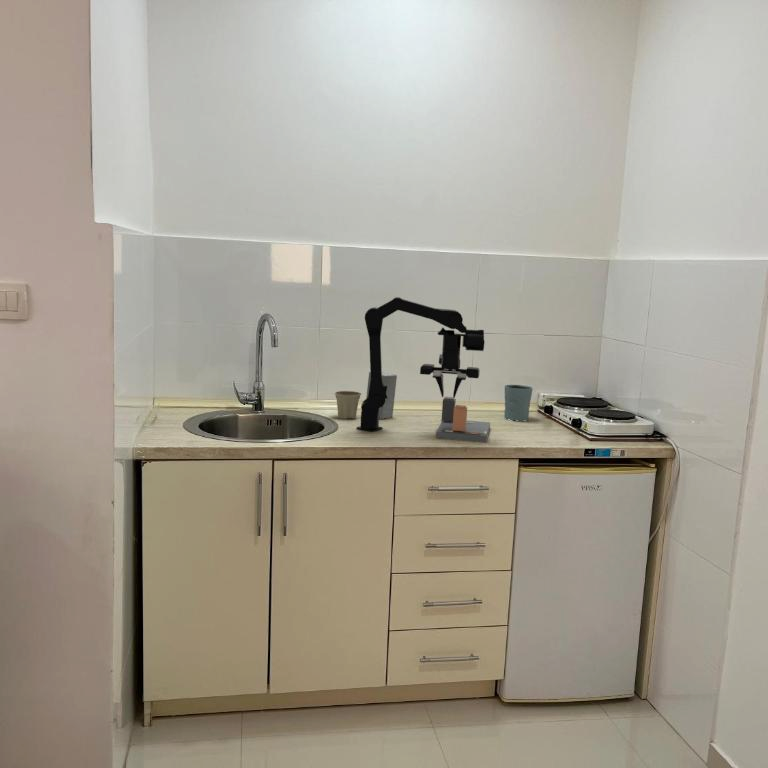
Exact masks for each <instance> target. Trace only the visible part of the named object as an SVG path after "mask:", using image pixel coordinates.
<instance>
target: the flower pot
mask: <svg viewBox="0 0 768 768" xmlns="http://www.w3.org/2000/svg"><path fill="white" fill-rule="evenodd" d="M334 395H335V398H336V405H337V406H336V407H337V417H338V418H340V419H343V418H344V419H345V420H347V419H351V418H353V419H355V417H357V412H358V406H359V402H360V399H361V396H362V393H361V392H359V391H354V390H353V391H352V390H338V391H334ZM351 420H352V419H351Z"/></svg>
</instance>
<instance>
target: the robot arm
mask: <svg viewBox="0 0 768 768" xmlns="http://www.w3.org/2000/svg"><path fill="white" fill-rule="evenodd" d="M398 311H401V312H405V313H407V314H411V315H414V316H418V317H422V318H425V319H428V320H429V319H430V320H432V321H434V322H436V323H438V324H440V325H441V326H442V328H440V330H438V332H437V335H438V336H442V352H441V353H440V354H439V358H438V364H439V365H441V367H440V366H439V367H438V366H435V364H434V363H433V364H432V363H423V364H422V365H421V366H420V367H419V369H420V370H419V374H420V375H427V376H428V375H430V376H431V374H432V378H434V379H435V382H436V383H437V385H438V389H439V391H440V395H441V398H444V397H445V396H444V395H445V394H444V393H445V390H444V389H445V385H444V374H446V375H447V374H449V375H456V377H455V383H454V388H453V395H452V397H453V398H455V399H456V396H457V392H458V390H459V387H460V386H461V383H462V381H466V380H467V378H468V379H479V377H480V368H479V367H474V366H467V367H466V368H461V346H462V348H465V351H473V352H474V351H475V352H484V349H485V330H484V329H467V326H465V324H464V323H463V322H464V321H463V320H464V319H463V316H462V314H461V313H460V312H459V311H457V310H455V309H447V308H435V307H432V306H428V305H425V304H421V303H418V302H414V301H410V300H407V299H404V298H402V297H400V296H397V297H396V296H395V297H394V298H393V299H391V300H389V301H388V302H386V303H384V304H382V305H381V306H378V307H373V306H372V307H370V308H369V309H368V310H367V311H366V312H365V314H364V321H365V325H366V326H365V327H366V330H367V336H368V339H369V341H368V342H369V343H368V345H369V364H370V365H369V368H370V370H369V372H371V381H370V387H369V394H368V398H365V399H364V400H363V401H362V402H361V406H360V408H361V412H360V426H357V427H356V430H362V431H366V432H373V433H374V432H376V431H379V430H382V429H383V427H382V426H380V419H379V408H380V407H382V406H383V405H384V404H385V401H386V398H388V393H387V385H388V383H385V384H384V383H383V380H382V372H383V371H382V368H383V367H382V364H383V363H382V341H381V340H382V339H381V338H382V337H381V336H382V330H383V322H384V321H383V320H384V319H385V318H387V317H388V316H390V315H392V314H394V313H395V312H398ZM444 327H447V328H448V329H445V328H444ZM455 330H457V331H458V332H459V333H455ZM461 343H462V344H461Z"/></svg>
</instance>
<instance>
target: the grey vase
mask: <svg viewBox="0 0 768 768" xmlns="http://www.w3.org/2000/svg"><path fill="white" fill-rule="evenodd" d="M397 379H398V375H397V374H393V373H390V372H385V371H382V380H383V383H384V384H385V383H388V385H387V393H388V398H386V401H385V404H384V405H383V406H382V407H380V408H379V420H385V419H384V418H386V419H391V418H390V417H392V418H393V415H394V408H395V407H394V405H395V398H396V397H395V396H396V388H397ZM370 381H371V372H370V371H369V372H368V380H367V389H366V398H368V394H369V387H370ZM366 398H365V399H366Z"/></svg>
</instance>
